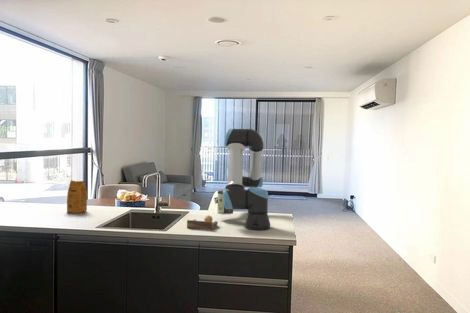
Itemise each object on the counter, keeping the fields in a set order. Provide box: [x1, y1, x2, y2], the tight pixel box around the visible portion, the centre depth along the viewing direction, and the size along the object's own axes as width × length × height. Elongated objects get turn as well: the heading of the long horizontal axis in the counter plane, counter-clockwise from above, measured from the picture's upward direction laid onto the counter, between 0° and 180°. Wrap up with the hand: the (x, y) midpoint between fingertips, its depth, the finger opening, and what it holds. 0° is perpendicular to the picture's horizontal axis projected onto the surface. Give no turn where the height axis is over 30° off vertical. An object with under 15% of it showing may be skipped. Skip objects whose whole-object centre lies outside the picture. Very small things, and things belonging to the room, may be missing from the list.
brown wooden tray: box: [186, 219, 218, 231], centre depth 207 cm, size 10×15×4 cm
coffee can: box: [217, 190, 234, 215], centre depth 227 cm, size 10×10×14 cm
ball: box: [203, 214, 213, 222], centre depth 217 cm, size 5×5×5 cm
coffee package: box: [66, 180, 88, 214], centre depth 245 cm, size 10×12×22 cm
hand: (223, 202), depth 223 cm, fingers closed on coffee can, 10 cm apart
